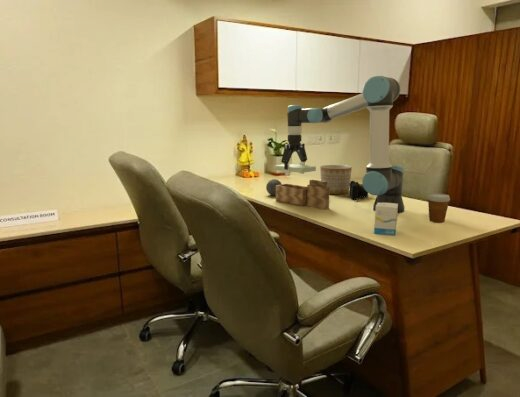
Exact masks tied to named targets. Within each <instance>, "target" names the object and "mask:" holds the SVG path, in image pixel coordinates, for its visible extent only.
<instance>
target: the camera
mask: <svg viewBox="0 0 520 397" xmlns="http://www.w3.org/2000/svg"><path fill="white" fill-rule="evenodd" d="M348 193H349V195H348V196H349V198H350V200H351V201H358V199H360V198H368V196H369V193H368V192H367V191H366V190H365V189H364V187H363V186H361V185H360V183H359V182H358V181H355V180H350V188H349V192H348Z"/></svg>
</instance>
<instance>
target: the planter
mask: <svg viewBox="0 0 520 397" xmlns="http://www.w3.org/2000/svg"><path fill="white" fill-rule="evenodd" d="M319 169H320V181H325V182H327V187H329V195H331V196H332V195H334V196H335V195H336V196H342V195H347V194H348V193H350V181H351V177H352V169H353V167H352V165H346V164H326V165H321V166H320V168H319Z"/></svg>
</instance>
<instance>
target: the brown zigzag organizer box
mask: <svg viewBox="0 0 520 397" xmlns="http://www.w3.org/2000/svg"><path fill="white" fill-rule="evenodd" d="M275 202H280V203H284V204H289V205H293V206H298V207H305V206H307V207H309V208H310V207H311V208H315V209H320V210H329V209H330V194H329V187H321V186H315V185H309V184H307V185H306V186H304V185H303V186H302V185H299V184H291V183H282V184H281V185H276V196H275Z"/></svg>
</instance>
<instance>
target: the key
mask: <svg viewBox="0 0 520 397" xmlns="http://www.w3.org/2000/svg"><path fill="white" fill-rule="evenodd" d="M308 182H309V183H308V185H315V186H321V187H327V182H325V181H321V180H317V179H309V181H308Z"/></svg>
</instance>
